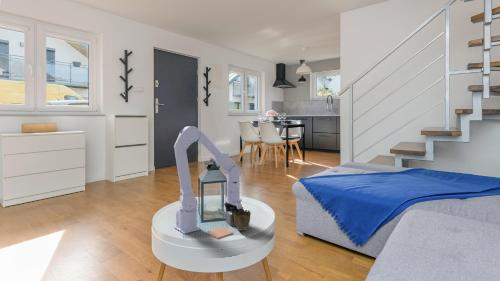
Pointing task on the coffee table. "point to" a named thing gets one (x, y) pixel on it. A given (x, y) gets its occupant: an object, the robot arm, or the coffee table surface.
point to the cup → (242, 219)
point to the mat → (219, 232)
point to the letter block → (229, 218)
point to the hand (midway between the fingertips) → (233, 220)
